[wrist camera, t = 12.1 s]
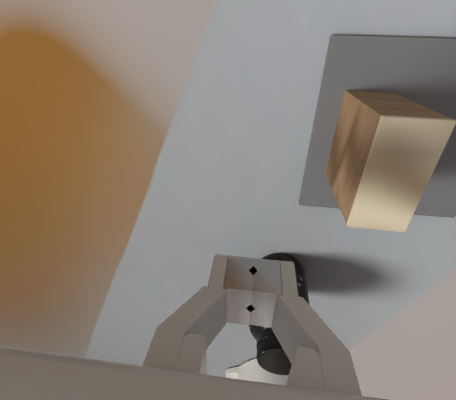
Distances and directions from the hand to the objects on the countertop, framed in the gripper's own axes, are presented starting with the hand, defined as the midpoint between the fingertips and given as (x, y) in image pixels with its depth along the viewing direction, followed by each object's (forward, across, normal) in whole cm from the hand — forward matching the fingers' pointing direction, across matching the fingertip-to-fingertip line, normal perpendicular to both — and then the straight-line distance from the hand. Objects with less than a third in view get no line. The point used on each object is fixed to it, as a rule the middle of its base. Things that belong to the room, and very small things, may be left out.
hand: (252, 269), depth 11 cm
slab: (+18, -9, 0) cm, 20 cm away
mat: (+19, -13, 0) cm, 23 cm away
